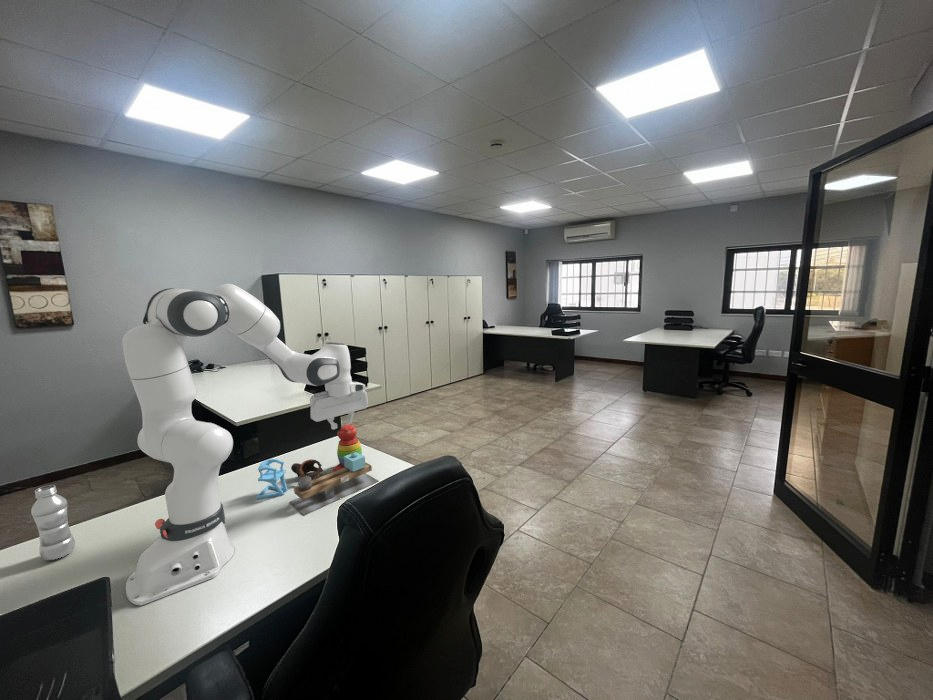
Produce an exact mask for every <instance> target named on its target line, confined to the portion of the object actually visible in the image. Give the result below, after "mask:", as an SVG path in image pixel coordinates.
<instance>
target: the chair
mask: <svg viewBox="0 0 933 700" xmlns="http://www.w3.org/2000/svg"><path fill="white" fill-rule="evenodd" d="M272 463H277V464H280V469H277V467H273V466H271V464H272ZM284 464H285V461H282V460H279V459H277V458H271V459H267V460H264V461H262V462H261V463H260V464H259V466H258V468H257V470H258V472H259V474H260V476H259V477H258V478H257V481H258V482H267V483H269V484H268V485H267V486H266V487H264V488H263V489H262V490H261V491H260V492H259V493H258V494H257V495H256V499H257V500H261V499H266V498H272V497H273V498H275V497H279V496H280V497H281V496H284V495H285V492H288V490H289V489H288V487H287V484H286V483H287V482H286V478H285V474H286V472H287V471H286V469H284ZM263 471H265V473H263ZM279 480H280V484H281V486H280V485H279V484H278V483H277V481H279ZM269 489H273V490H275V491H277V492H271V493H266V492H267V491H268V490H269Z"/></svg>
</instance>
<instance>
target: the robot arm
mask: <svg viewBox="0 0 933 700" xmlns="http://www.w3.org/2000/svg"><path fill="white" fill-rule="evenodd" d="M146 305H147V306H146V311H145V313H144V316H143V318H142V323H143V324H141V325H138V326H137V325H136V327H135V326H134V327H132V328H131V329H129V330H128V331H126V332H125V334H124V335H123V337H122V350H123V358H124V361H125V365H126V370H127V372H128V375H129V378H130V381H131V384H132V386H133V388H134V391H135V394H136V397H137V399H138V403H139V405H140V409H141V416H142V428H141V429H140V430H139V433H138V434H137V442H136V443H137V446H138V448H139V449H140V450H141V451H142V452H143V453H144V454H146V455H147V456H149V457H150V458H152V459H154V460H158V461H161V462H165V463H168V464H169V463H170V464H171V466H172V467H173V478H172V482H171V483H170V484H169V485H168V486H167V487H166V489H165V492H164V496H165V503H166V508H167V515H168V518H167V519H166V520H165V519H164V518H159V519H157V520H156V521H155V523H154V526H155V528H156V529H157V530H159V533H160V536H159V537H158V538H157V539H156V540H155V541H154V542H152V544H151V545H150V546H148V547H147V548H146V550H144V551H143V552H142V553H141V554H140V555H139V558H137V559H138V561H137V564H136V567H135V568H136V569H135V570H134V572H132V573H131V574H130V575H129V577H128V578H127V580H126V583H125V595H126V598H127V600H128V601H129V602H130V603H131V604H133V605H136V606H144V605H147V604H149V603H151V602H154V601H157V600H160V599H162V598H165V597H167V596H169V595H173V594H175V593H177V592H180V591H183V590H185V589H188V588H191V587H193V586H195V585H196V586H197V585H198V584H201V583H204V582H206V581H209V580H211V579H214V578H215V577H216V576H217V575H218V574H219V573H220V571H221V569H222V568H223V567H224V565H225V564H227V563H228V562H229V561H230V560H231V558H232V557H233V556H234V553H235V546H234V544H232V541H231V539H230V537H229V535H228V531H227V529H226V525H225V524H226V512H225V507H224V505H223V503H222V501H221V497H220V495H221V494H220V488H219V487H220V486H219V485H220V484H219V474H220V469H221V467H222V464H223V463H224V462H225V461H227V459H228V457H230V454H231V453H232V451H233V446H234V439H233V436H232V434H231V433H230V432H229V431H228V430H227V429H225V428H223V427H221V426H220V425H217V424H215V423H212V422H206V421H201V420H196V419H195V417H194V416H193V413H192V410H193V409H192V405H193V404H192V403H193V402H194V400H195V399H196V397H197V395H198V389H197V387H196V384H195V380H194V378H193V375H192V371H191V369H190V365H189V362H188V359H187V357H186V356H187V355H186V354H185V342H186V341H185V340H186V338H187V337H189V338H190V337H192V338H193V337H194V338H197V337H205V336H207V335H210V334H212V333H213V332H215V331H217V329H219V328H221V327H224V328H226V329H227V330H228V331H229V332H230V333H232V334H233V335H235V336H236V337H238V339H241V340H242V341H244V342H245V343H247V344H248V345H250V346H252V347H254V348H256V349H257V350H258V351H260V352H261V353H262V354H263V355H264V356H266V357H267V358H268V359H270V360H271V361H272V362H273V363H274V364H275V365H277V367H278V369H279V370H280V372H281V374H282V375H283V377H284V378H285V379H286V380H287V381H289V382H292V383H299V384H305V385H309V386H315V387H318V386H319V387H320V386H323V385H324V388H325V391H321V392H317V393H314V394H313V395H312V396H311V397H310V398H309V405H310V419H311V420H313V421H314V422H316V423H317V422H321V421H324V420H327V421H328V423H329V424H330V427H331V430H336V429H338V423H336V422H334V420H335V418H336V417H339V416H343V415H346V414H348V416H347V418H346V419H345V425H350V424H353V419H354V415H355V412H357V411H360V410H365V409H367V408H368V406H369V401H368V399H369V398H368V393H367V391H366V384H364V383H362V382H359V381H354V380H352V379H353V378H352V376H351V369H352V366H351V365H352V364H351V355H350V350H349V348H348V345H347V344H345V343H343V342H341V343H340V342H330V341H328V342H325V343H323V346H322V347H321V348H320V349H319V350H318V351H316V352H315V353H313V354H307V353H302V352H297V351H294V350H292V349H290V347H289V346H287V344H285V343H284V342H283V341H282V340H280V339H279V338H278V335H279V333H280V330H281V321H280V320H279V318H278V317H277V315H276V314H275V313H274V312H273V311H272V310H271V309H270V308H269V307H268V306H267V305H265V304H264V303H263V302H262V301H260V300H259V299H258V298H257V297H255V296H254V295H252V294H251V293H250V292H248V291H246V290H245V289H243V288H241V287H239V286H237V285H235V284H232V283H224V284H220V285H218V286H216V287H215V288H213V289H212V290H211V291H210V292H209V293H207V292H205V291H198V290H193V289H190V288H182V287H180V288H179V287H178V288H176V287H175V288H173V287H172V288H165V289H164V288H163V289H162V290H160V291H157V292H156V293H155V294H153V295H152V296H151V297H150V299H149V301H148V303H147V304H146Z"/></svg>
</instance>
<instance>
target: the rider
mask: <svg viewBox="0 0 933 700" xmlns="http://www.w3.org/2000/svg"><path fill="white" fill-rule="evenodd" d="M365 462H366V457H365V455H361V454H359V453H357V452H355V453H352V454H349V455H346V456H344V465H345V467H346V468H348V469H349V471H353V472H354V471H357V470H359V469H362V468H364V467H366V466H365Z"/></svg>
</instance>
